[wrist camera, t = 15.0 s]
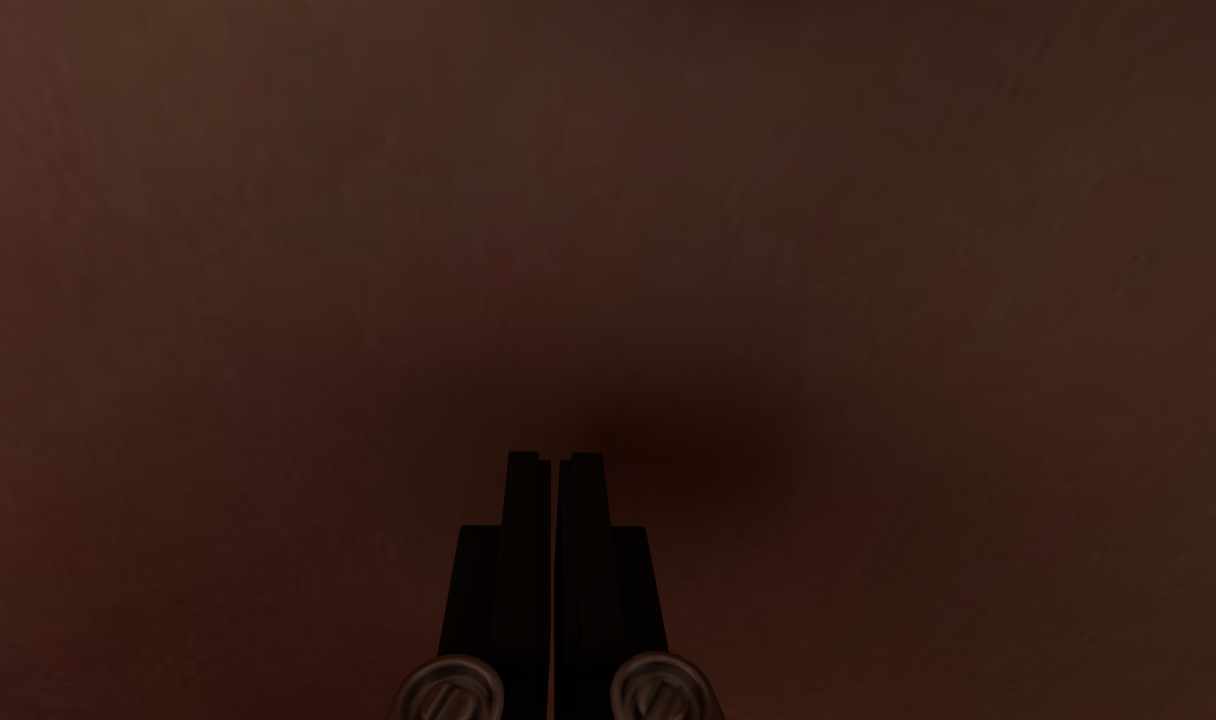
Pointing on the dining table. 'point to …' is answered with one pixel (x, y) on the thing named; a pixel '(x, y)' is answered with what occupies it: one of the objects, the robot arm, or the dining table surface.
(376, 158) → the dining table surface
